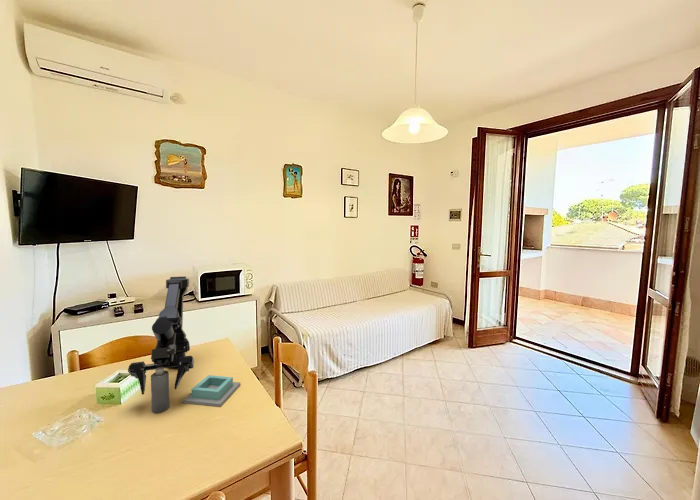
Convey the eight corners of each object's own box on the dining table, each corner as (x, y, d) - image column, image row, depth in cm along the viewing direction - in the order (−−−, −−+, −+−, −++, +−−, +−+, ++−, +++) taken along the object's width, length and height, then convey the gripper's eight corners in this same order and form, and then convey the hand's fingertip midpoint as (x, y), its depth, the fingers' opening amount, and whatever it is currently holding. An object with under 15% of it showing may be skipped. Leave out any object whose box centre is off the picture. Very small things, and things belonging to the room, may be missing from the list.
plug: (159, 403, 101) (158, 364, 100) (172, 404, 100) (172, 365, 99) (148, 412, 96) (146, 371, 95) (161, 414, 96) (160, 372, 94)
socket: (206, 381, 116) (206, 372, 115) (240, 385, 114) (240, 375, 114) (182, 402, 102) (182, 391, 101) (220, 406, 100) (220, 395, 100)
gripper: (128, 340, 97) (118, 389, 87) (192, 333, 104) (188, 378, 94) (136, 353, 105) (127, 399, 95) (195, 346, 112) (192, 389, 102)
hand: (159, 391), depth 97 cm, fingers open, 9 cm apart
